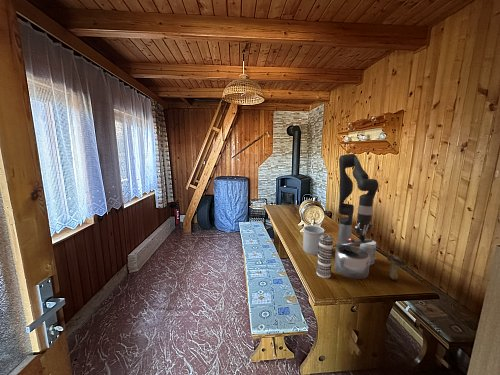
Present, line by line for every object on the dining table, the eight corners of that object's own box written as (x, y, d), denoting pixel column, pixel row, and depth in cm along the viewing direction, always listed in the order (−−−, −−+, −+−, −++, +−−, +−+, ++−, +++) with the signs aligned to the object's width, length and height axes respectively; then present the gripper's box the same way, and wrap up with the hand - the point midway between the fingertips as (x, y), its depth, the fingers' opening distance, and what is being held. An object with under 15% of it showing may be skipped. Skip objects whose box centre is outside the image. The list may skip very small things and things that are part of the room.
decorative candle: (319, 268, 140) (322, 231, 135) (333, 273, 134) (337, 235, 129) (313, 274, 133) (316, 236, 128) (328, 280, 127) (331, 240, 122)
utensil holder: (323, 256, 155) (325, 233, 151) (302, 254, 158) (303, 231, 154) (321, 247, 169) (323, 226, 166) (301, 245, 172) (303, 224, 168)
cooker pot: (348, 258, 152) (350, 242, 150) (375, 274, 134) (378, 256, 132) (326, 264, 144) (328, 247, 142) (352, 282, 126) (354, 263, 123)
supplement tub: (375, 266, 143) (378, 245, 140) (359, 263, 146) (362, 243, 143) (372, 259, 152) (374, 239, 149) (357, 257, 155) (359, 237, 152)
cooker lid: (351, 242, 150) (349, 237, 151) (381, 239, 129) (380, 234, 130) (327, 247, 142) (326, 242, 142) (356, 245, 121) (355, 239, 122)
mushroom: (380, 275, 133) (383, 252, 130) (393, 275, 133) (397, 252, 130) (391, 285, 123) (395, 261, 120) (406, 284, 124) (410, 260, 121)
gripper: (366, 209, 133) (363, 236, 136) (351, 212, 128) (348, 239, 131) (378, 213, 126) (375, 241, 129) (362, 215, 121) (359, 244, 124)
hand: (361, 240), depth 130 cm, fingers closed
